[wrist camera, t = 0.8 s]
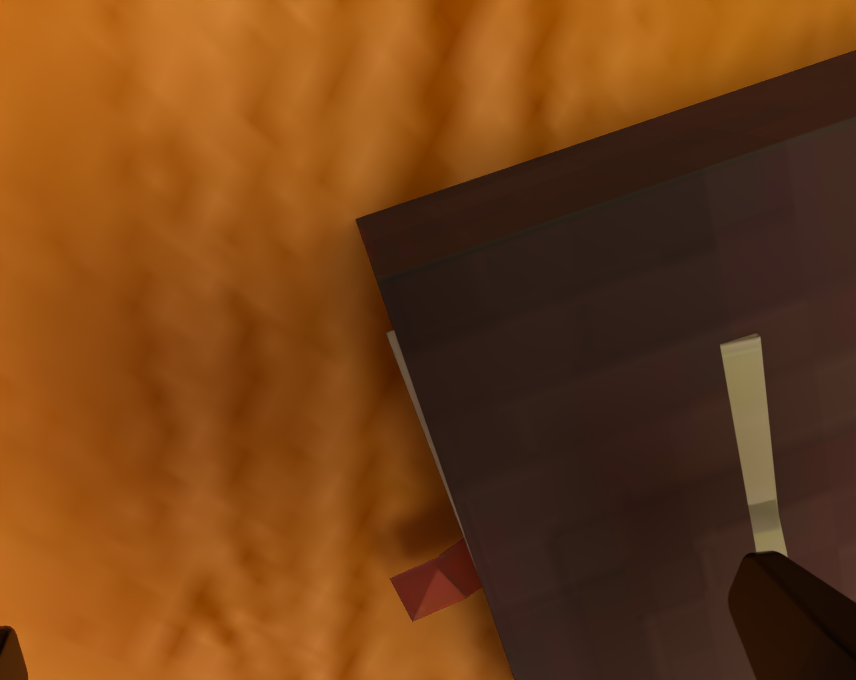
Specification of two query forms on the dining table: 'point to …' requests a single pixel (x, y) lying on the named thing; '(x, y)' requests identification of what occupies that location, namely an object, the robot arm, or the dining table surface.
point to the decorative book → (638, 376)
